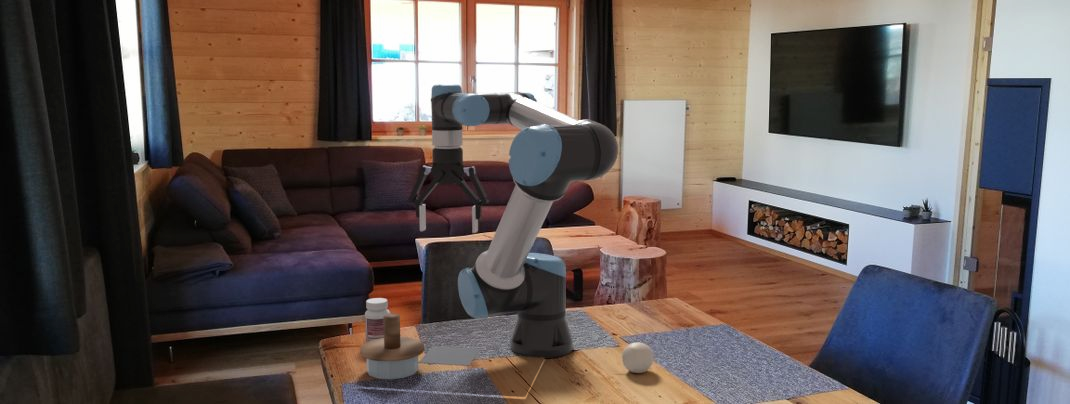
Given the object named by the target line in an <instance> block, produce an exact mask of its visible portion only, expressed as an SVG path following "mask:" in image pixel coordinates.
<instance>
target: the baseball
mask: <svg viewBox="0 0 1070 404" xmlns="http://www.w3.org/2000/svg"><path fill="white" fill-rule="evenodd" d="M621 359H622V363H623V365H624V367H625V369H627V371H629V372H631V373H634V374H643V373H646V372H648V370H650V369H651V367H652V366H653V362H654V352H653V350H652V348H651V347H650V346H649V345H647V344H646V343H643V342H638V341H637V342H631V343H629V344H628V345H626V346H625V348H624V349H623V351H622V355H621Z"/></svg>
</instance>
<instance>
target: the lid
mask: <svg viewBox="0 0 1070 404" xmlns="http://www.w3.org/2000/svg"><path fill="white" fill-rule="evenodd" d="M383 321H384V338H380V339H375V340H372V341H369V342H366V341H365V343H363V344H362V345H361V346H360V349H359V350H360V351H359V352H360V355H361V356H362V357H363V358H365V359H366V360H367V359H370V360H374V361H401V360H407V359H411V358H414V357H417V356H418V357H419V356H420V355H422V354H423V353H424V352H425V344H424V342H423V341H421V340H420V339H417V338H413V337H409V336H408V337H404V336H401V315H400V314H397V313H390V314H387V315H384V316H383Z"/></svg>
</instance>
